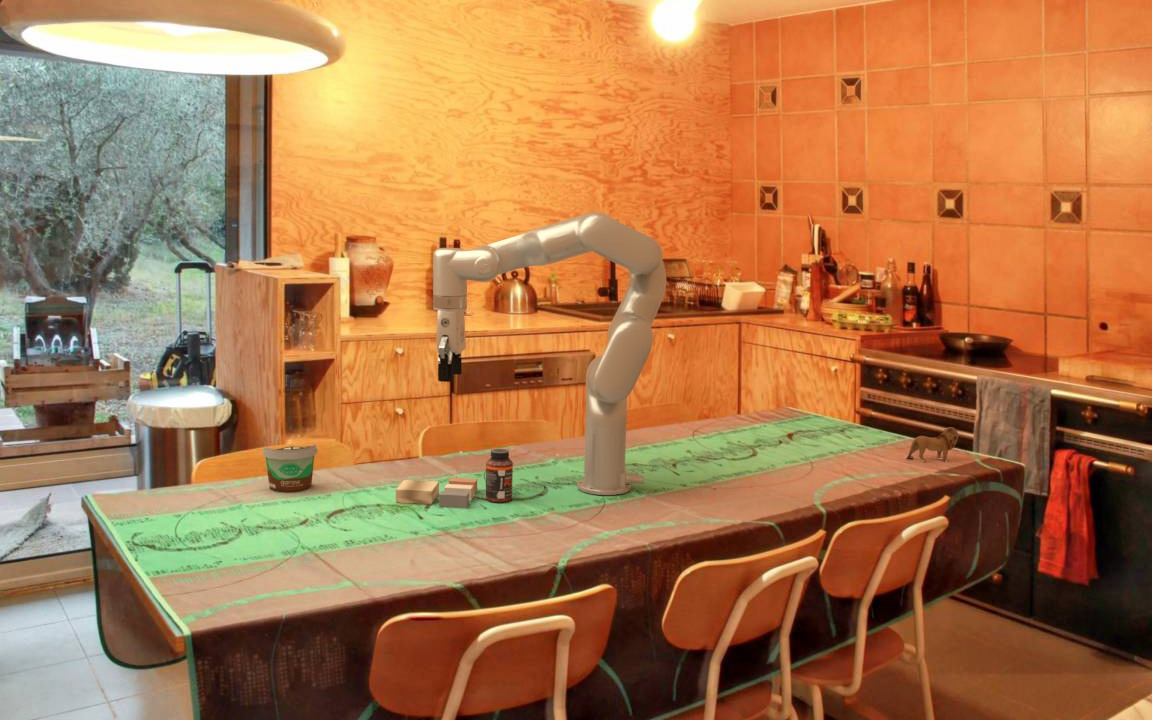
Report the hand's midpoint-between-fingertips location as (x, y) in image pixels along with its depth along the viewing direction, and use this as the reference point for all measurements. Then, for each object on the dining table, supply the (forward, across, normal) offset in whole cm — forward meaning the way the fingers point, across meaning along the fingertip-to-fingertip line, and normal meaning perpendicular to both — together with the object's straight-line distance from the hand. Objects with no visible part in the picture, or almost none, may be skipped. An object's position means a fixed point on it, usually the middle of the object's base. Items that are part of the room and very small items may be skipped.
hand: (450, 377), depth 241 cm
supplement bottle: (+26, -7, -13) cm, 30 cm away
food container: (+26, -8, +34) cm, 44 cm away
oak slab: (+26, -10, +5) cm, 28 cm away
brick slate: (+26, -13, -4) cm, 30 cm away
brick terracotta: (+26, -2, -4) cm, 27 cm away
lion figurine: (+28, +52, -121) cm, 134 cm away
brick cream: (+26, -8, -4) cm, 28 cm away
